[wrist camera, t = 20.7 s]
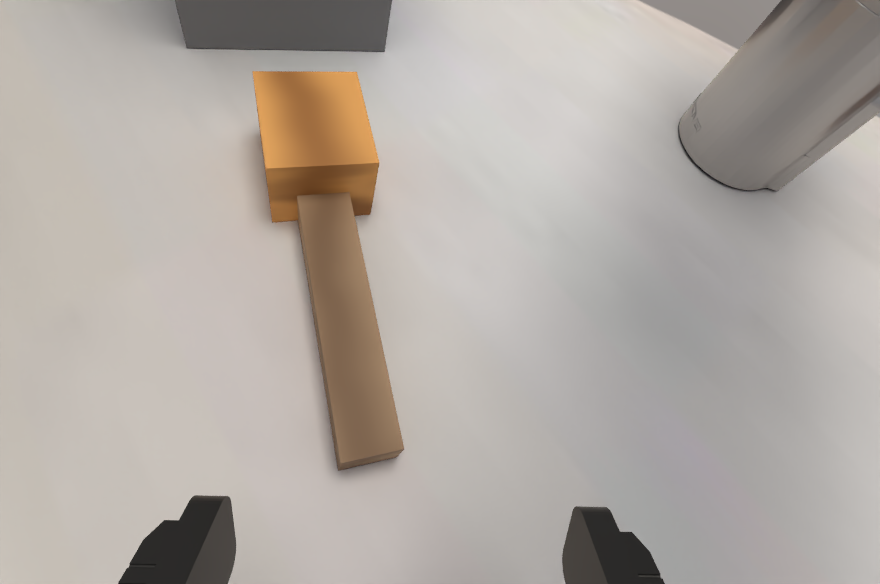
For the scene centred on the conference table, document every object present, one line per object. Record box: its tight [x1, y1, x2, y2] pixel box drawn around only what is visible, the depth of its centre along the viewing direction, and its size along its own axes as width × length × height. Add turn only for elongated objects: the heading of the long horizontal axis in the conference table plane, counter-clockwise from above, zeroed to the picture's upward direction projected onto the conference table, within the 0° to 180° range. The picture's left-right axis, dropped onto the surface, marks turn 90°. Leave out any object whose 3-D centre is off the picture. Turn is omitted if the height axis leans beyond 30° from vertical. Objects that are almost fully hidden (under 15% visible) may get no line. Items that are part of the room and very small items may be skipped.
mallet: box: [253, 71, 404, 471], centre depth 28 cm, size 6×22×5 cm, turn 14°
